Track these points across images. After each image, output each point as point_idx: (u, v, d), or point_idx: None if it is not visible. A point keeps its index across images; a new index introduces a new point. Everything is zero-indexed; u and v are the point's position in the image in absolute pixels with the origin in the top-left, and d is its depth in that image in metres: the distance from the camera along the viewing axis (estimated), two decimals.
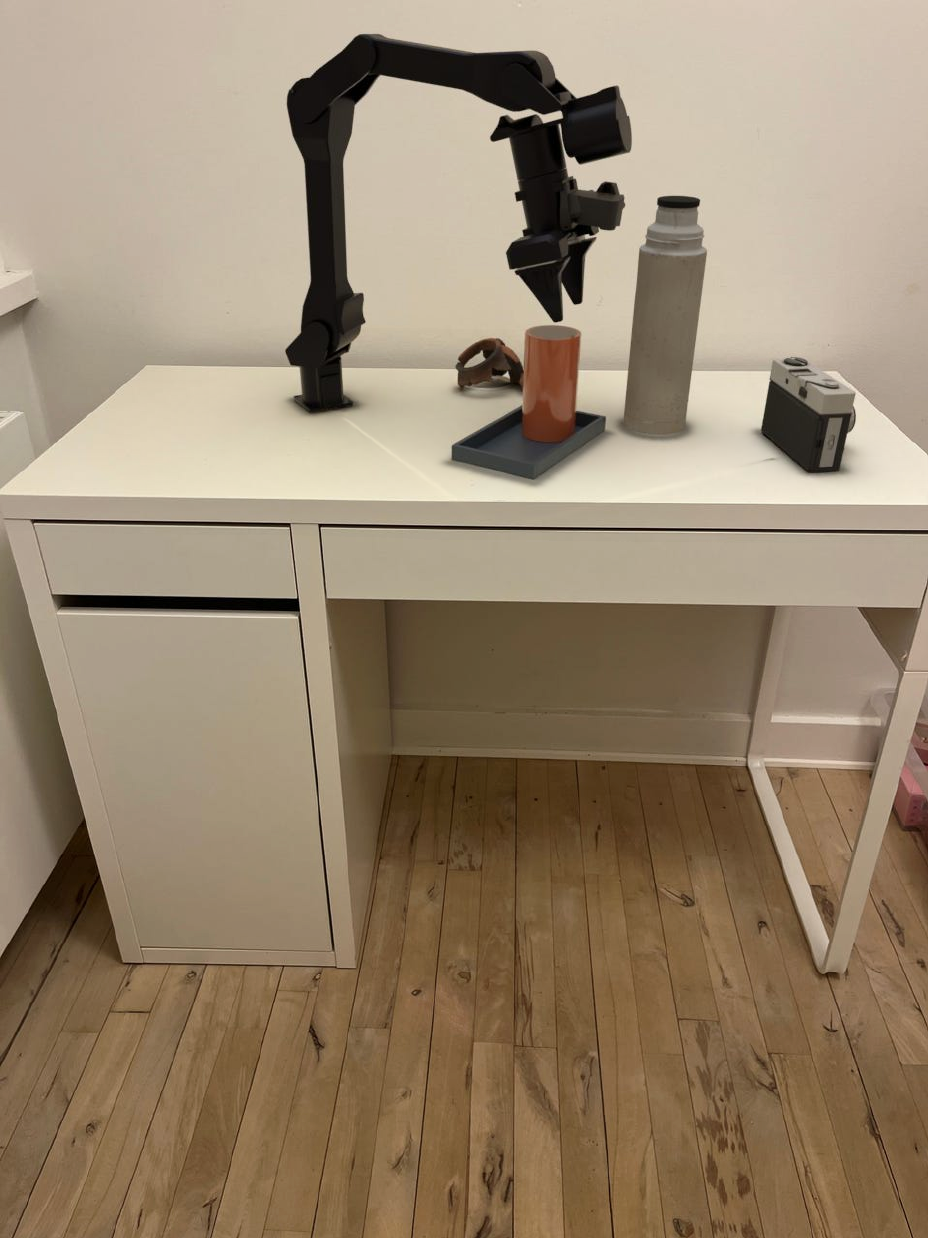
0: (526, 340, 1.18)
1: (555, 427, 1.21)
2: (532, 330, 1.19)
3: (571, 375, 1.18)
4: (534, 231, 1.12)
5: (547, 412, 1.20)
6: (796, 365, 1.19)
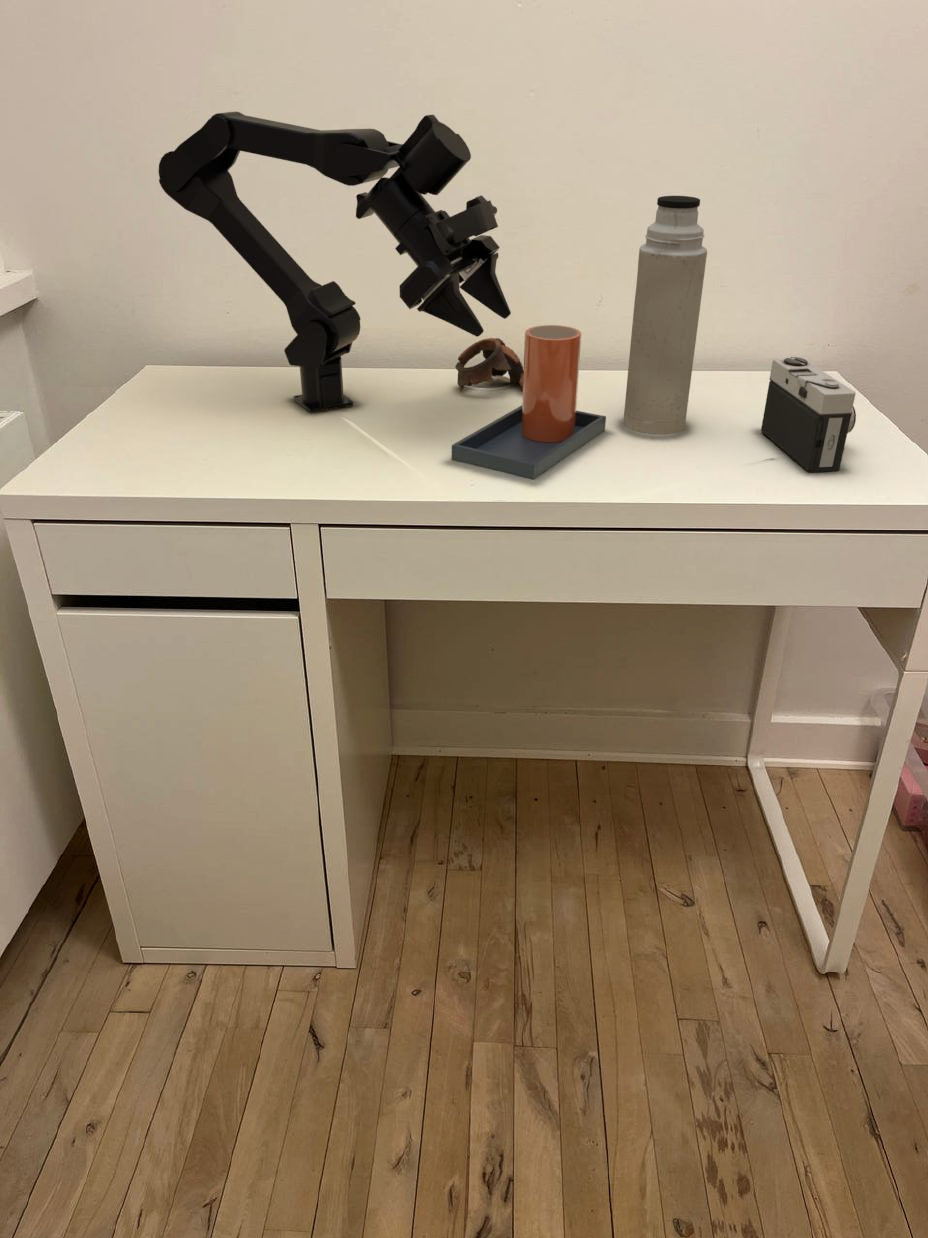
0: (526, 340, 1.18)
1: (555, 427, 1.21)
2: (532, 330, 1.19)
3: (571, 375, 1.18)
4: None
5: (547, 412, 1.20)
6: (796, 365, 1.19)
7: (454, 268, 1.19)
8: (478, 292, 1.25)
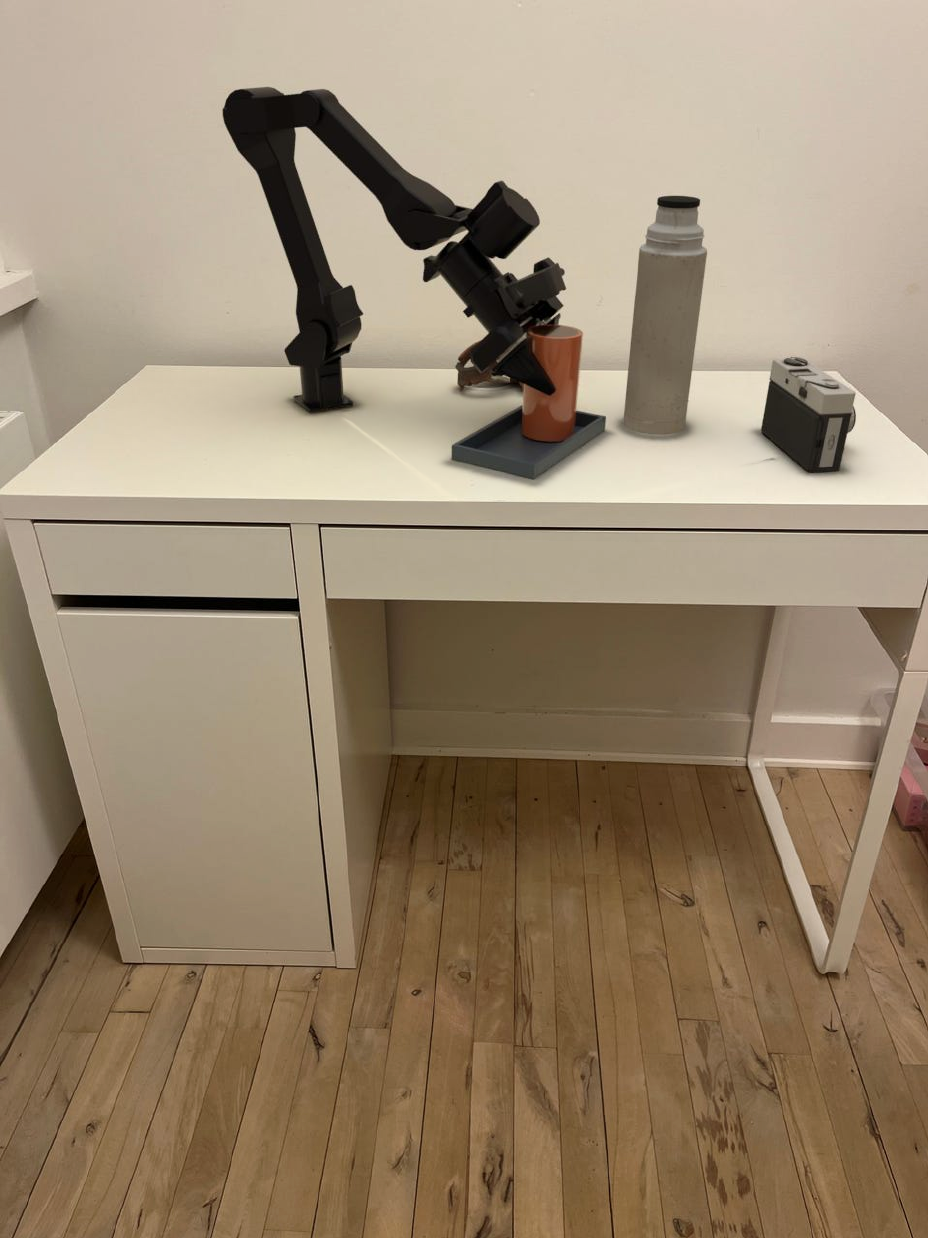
0: None
1: (554, 426, 1.21)
2: (534, 329, 1.19)
3: (571, 374, 1.18)
4: None
5: (547, 411, 1.20)
6: (796, 365, 1.19)
7: (521, 329, 1.20)
8: None
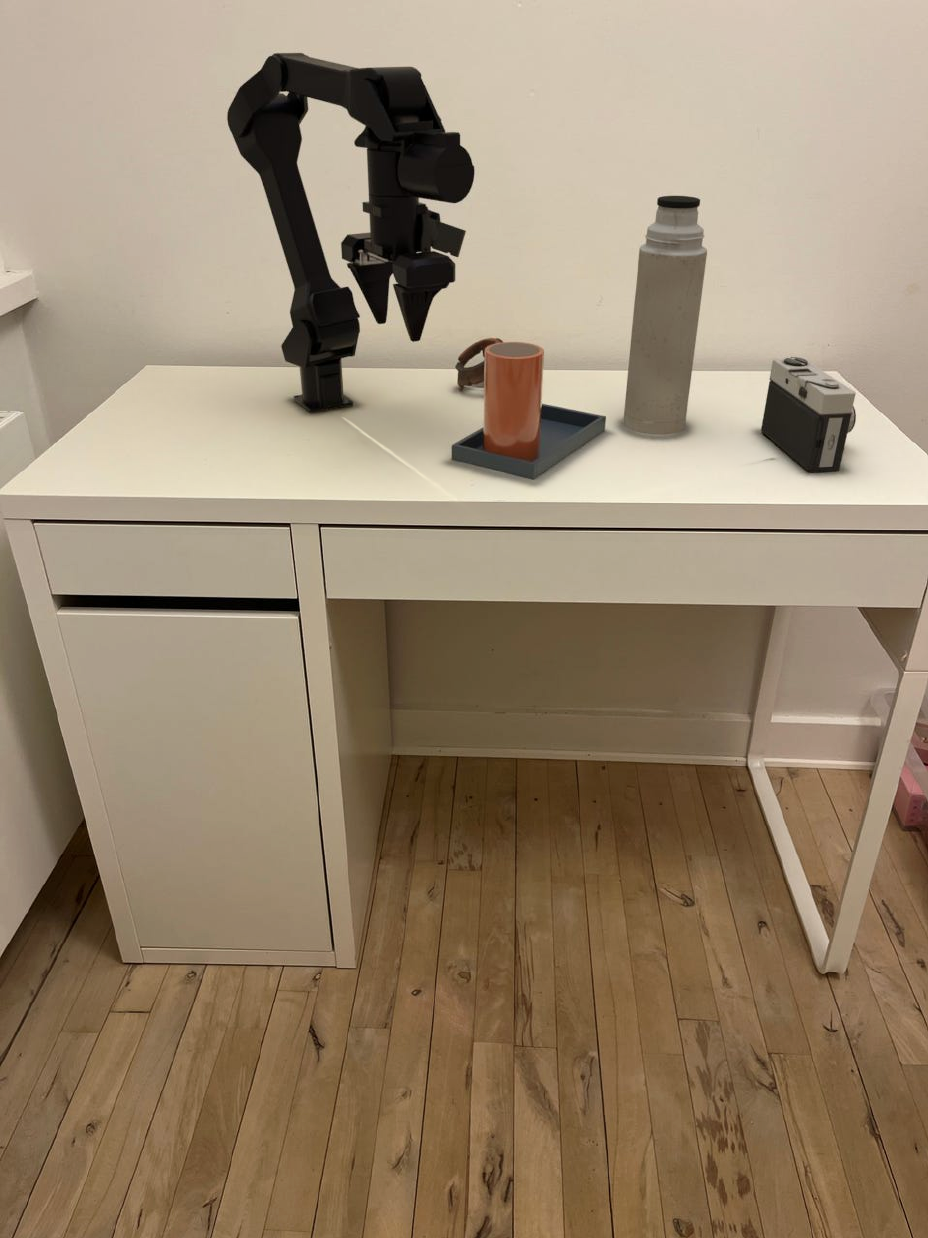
0: None
1: (509, 450, 1.14)
2: (495, 346, 1.13)
3: (526, 396, 1.11)
4: (394, 249, 1.11)
5: (501, 433, 1.14)
6: (796, 365, 1.19)
7: None
8: (369, 285, 1.20)
